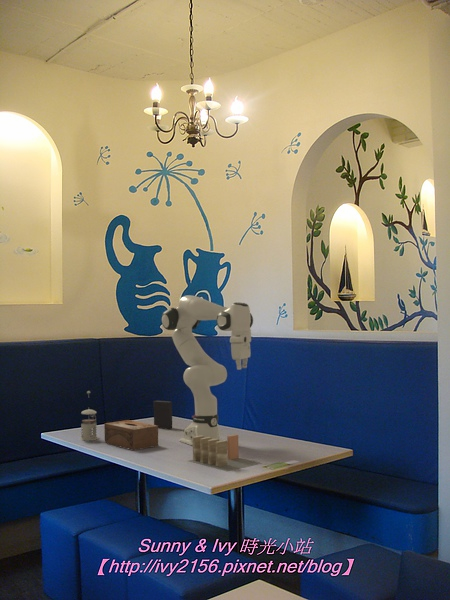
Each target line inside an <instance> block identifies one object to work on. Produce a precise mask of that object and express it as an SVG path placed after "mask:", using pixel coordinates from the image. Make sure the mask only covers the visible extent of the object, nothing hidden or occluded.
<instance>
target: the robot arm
mask: <svg viewBox="0 0 450 600" xmlns="http://www.w3.org/2000/svg"><path fill="white" fill-rule="evenodd" d="M160 321H161V325H162V327H163V328H164V330H166V331H167V330H168V331H173V332H172V334H171V339H172V342H173V344H174V346H175V348H176V350H177V351H178V353H179V355H180V357H181V358H182V360H183V362H184V363H185V364H186V365H187V366H189V367H187V368H186V369H185V371H184V372H183V375H182V377H183V382H184V383H185V385H186V386H187V387H188V388H189V389H190V390H191V393H192V395H193V398H194V415H192V416H191V418H193V419H192V422H191V423H190V424H189V425H188V426H186V428H184V431H183V437H181V438H179V439H178V441H179V442H180V443H183V444H187V445H189V446H192V447H193V437H196V436H204V438H206V437H211V438H212V439H219V441H222V438H221V433H220V425H219V424H218V423H219V414H218V399H217V397H216V396H215V395H214V394H213V393H212V391H211V387H214V386H218V385H220V384H223V383H225V382H226V380H227V379H228V378H227V377H228V372H227V371H228V370H227V369H226V367H225V366H224V365H223V364H220V363H218V362H217V361H215V360H214V359H213V358H212V357H210V356H209V355H208V354H207V353H206V352H205V351H204V349H203V348H202V346H201V344H200V343H199V342H198V340H197V338H196V337H195V336H194V334H193V330H196V329H197V327H198V325H199V324H200V323H201V321H216V324H217V327H218V329H219V330H221V331H225V332H231V336H230V338H229V343H230V351H231V359H232V360H233V361H235V364H236V370H240V371H241V370H242V369H247V367H248V361H249V359H248V358H251V354H252V353H251V342H252V329H251V328H252V326H253V324H254V317H253V315H252V313H251V309H250V306H249V304H248V303H246V302H233V303H232V304H231V306H230V307H225V306H222V305H219V304H218V303H215V302H212V301H210V300H207V299H205V298H202V297H200V296H196V295H190V294H189V295H188V294H187V295H184V296H182V297H181V298H180V299H179V301H178V306H177V307H171V308H169V309H166V310H165V311H163V312H162V314H161V317H160Z"/></svg>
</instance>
